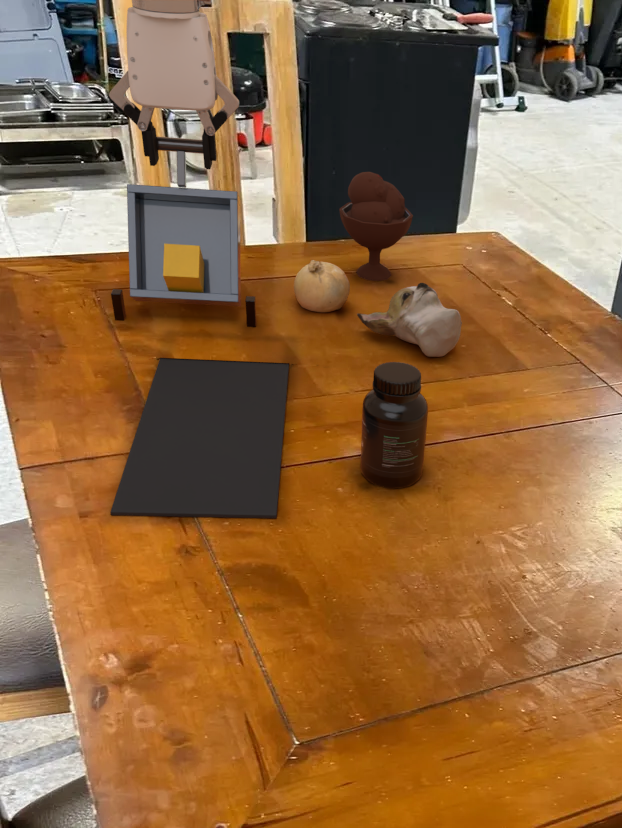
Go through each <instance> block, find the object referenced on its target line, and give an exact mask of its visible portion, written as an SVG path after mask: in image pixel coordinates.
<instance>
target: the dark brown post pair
mask: <svg viewBox="0 0 622 828" xmlns="http://www.w3.org/2000/svg"><path fill="white" fill-rule="evenodd" d="M110 298H111V303H112V310H113V316H114V321H119V322H124V321H125V320H126V317H127V313H126V306H125V299H124V292H123V289H119V288H113V289H112V290H111V293H110ZM245 316H246V318H245V319H246V327H247V328H256V327H257V322H258V321H257V303H256V296H254V295H253V296H250V295H246V296H245Z"/></svg>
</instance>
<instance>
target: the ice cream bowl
mask: <svg viewBox="0 0 622 828" xmlns="http://www.w3.org/2000/svg"><path fill="white" fill-rule="evenodd" d="M347 196H348V198H349V199H350V201H349V202H346V203H345V204H344V205H343V206H341V207H339V216H340V220H341V223H342V226H343V228H344V229H345V230H346V232H347V233H348V235H349V236H350V237H351V238H352V239H353V241H354V242H355V243H357V244H358V245H359V246H361V247H364V248H366V249H367V251H368V262H366V263H363V264H362V265H360V266H359V267H358V268H357V269H356V271H355V273H356V275H357V276H358V277H359V278H361V279H363V280H366V281H374V282H380V281H381V282H382V281H387V280H389V279H390V278H391V277H392V272H391V270H390V269H389V267H387V266H385V265H384V264H382V263H381V253H382V250H385V249H389V248H391V247H393V246H394V245H396V244H397V243H398V242H399V241H400V240H401V239H402V238H403V237H404V236H405V235H406V234H407V233H408V232H409V229H410V228H411V225H412V221H413V217H414V215H413V214H412V212H411V211H410V210H409V209H408V208H407V207H406V203H405V201H406V199H405V198H404V196H403V195H402V193H401V191H400V190H399V189H398V188H397V187H396V186H395V185H394V184H392V183H391V182H389V181H386V180H384V178H383V177H382V175H380V174H378V173H375V172H372V171H362V172H359V173H357V174H355V176H353V177H352V179H351V180H350V183H349V185H348V187H347Z"/></svg>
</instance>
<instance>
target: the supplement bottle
mask: <svg viewBox="0 0 622 828" xmlns="http://www.w3.org/2000/svg"><path fill="white" fill-rule="evenodd" d="M421 392H422V373H421V371H420V370H419V368H417V367H416V366H414V365H412V364H409V363H406V362H402V361H401V362H400V361H398V362H397V361H388V362H383V363H381V364H379V365H376V367H375V368H374V370H373V380H372V388H371V390H369V391H368V392H367V394H366V395H365V396H364V397H363V400H362V407H361V411H362V412H361V435H360V436H361V439H360V442H361V444H360V472H361V473H362V476H363V477H364V478H365V479H366V480H367V481H369V482H370V483H371V484H373V485H375V486H378V487H381V488H385V489H402V488H407V487H409V486H412V485H414V484H415V483H417V482H418V481H419V480H420V478H421V477H422V475H423V471H424V461H425V451H426V439H427V438H426V437H427V427H428V418H429V403H428V401H427V400H426V397H425V396H424V395H423V394H422V393H421Z"/></svg>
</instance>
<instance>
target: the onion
mask: <svg viewBox="0 0 622 828" xmlns="http://www.w3.org/2000/svg"><path fill="white" fill-rule="evenodd" d="M293 280H294V281H293V292H294V296H295V298H296V301H297V302H298V304H299V305H300V307H301V308H303V309H306V310H307V311H310V312H315V313H316V312H317V313H330V312H333V311H338V310H341V309H342V307H343V306H344V305H345V304H346V302H347V299H348V298H349V295H350V293H351V292H350V291H351V285H350V281H349V278H348V276H347V275H346V273H345V271H344V270H343V269H342V268H340V267H339V266H337V264H334V263H331V262H327V261H320V260H314V259H311V260H310V262H309V263H308V264H305V265H304V266H303V267H302V268H300V270H299V271H298V272H297V274H296V275H295V277H294V279H293Z"/></svg>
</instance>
